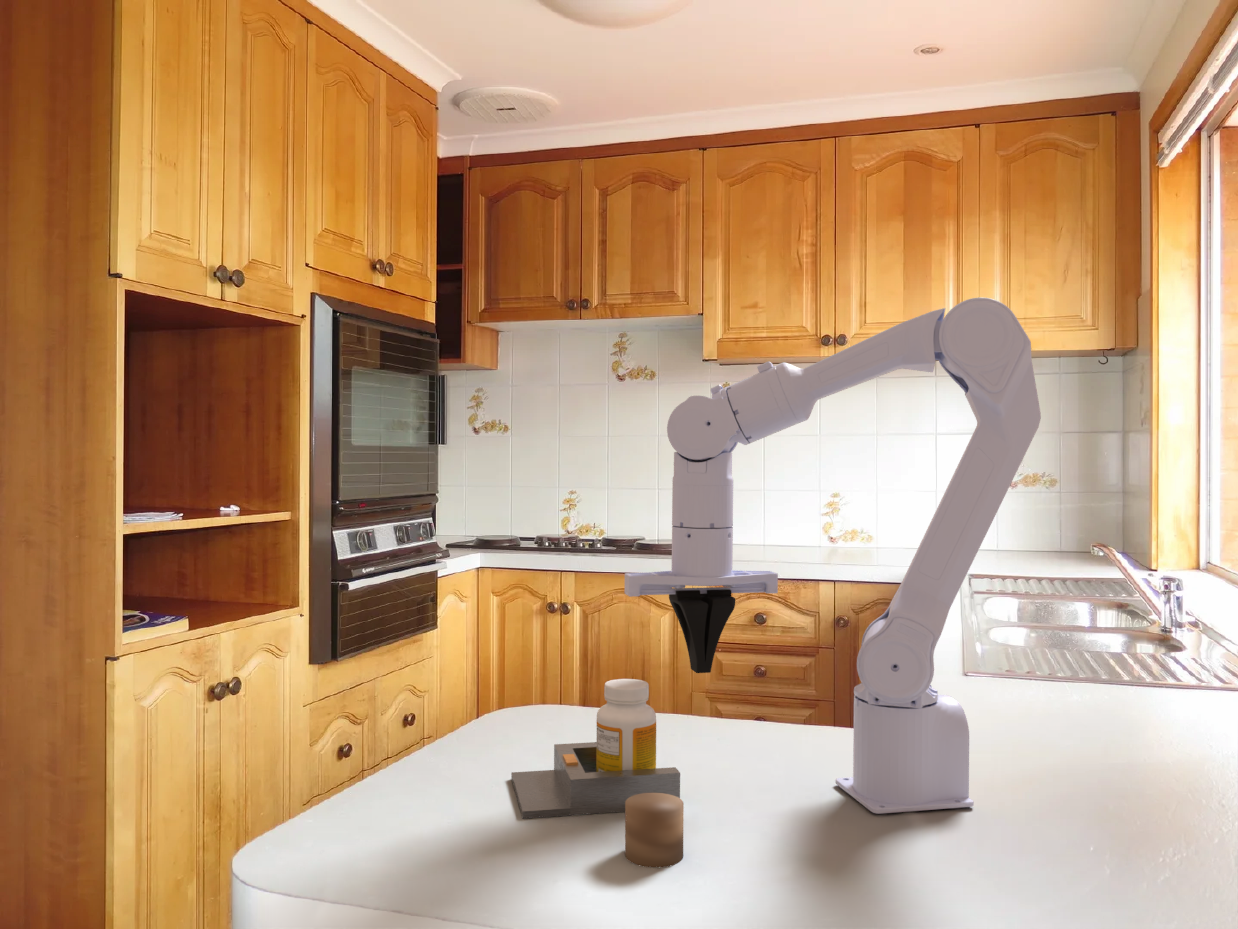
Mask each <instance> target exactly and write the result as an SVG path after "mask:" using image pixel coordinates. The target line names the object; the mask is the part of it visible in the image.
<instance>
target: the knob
mask: <svg viewBox="0 0 1238 929" xmlns="http://www.w3.org/2000/svg"><path fill="white" fill-rule="evenodd" d="M684 805H685V804H684V801H683V800H682V799H681V797H680V798H678V797H676V796H673V795H670V794H664V793H642V794H637V795H634V796H631V797H629V798H628V799H627V800H626V802H625V812H624V813H625V814H624V815H625V816H624V817H625V819H624V820H625V822H624V823H625V824H624V827H625V828H624V849H625V850H624V856H625V858H626V860H627V861H628V862H630V863H631V864H633V865H637V866H639V865H640V867H643V866H644V867H645V868H653V869H654V868H655V869H656V868H657V869H658V868H659V867H660V868H667V866H668V867H671V866H670V865H672V866H675V865H676V864H679V863H681V861H683V859H684V812H685V811H684V808H685V807H684ZM660 868H659V869H660Z"/></svg>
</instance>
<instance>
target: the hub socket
mask: <svg viewBox="0 0 1238 929" xmlns="http://www.w3.org/2000/svg"><path fill="white" fill-rule="evenodd" d="M553 747H554V748H553V749H554V750H553V762H554V763H553V769H550V770H549V769H547V770H546V769H545V770H533V771H532V770H531V771H529V770H528V771H513V772H512V771H511V782H512V786H513V790H514V793H515V795H516V796H515V797H516V799H517V804H518V807H519V811H520V814H521V818H522V819H536V818H551V817H553V818H554V817H565V816H566V817H567V816H579V815H580V816H581V815H593V814H594V815H595V814H597V815H598V814H609V813H610V814H611V813H623V812H624V813H625V802H626V800H627V799H628V798H629V797H631V796H634V795H637V794H642V793H664V794H670V795H673V796H676V797H678V798H680V799H681V772H680V771H679V769H678V768H677V767H675V766H674V767H659V768H657V767H656V768H655V769H639V770H623V771H606V772H596V756H597V754H596V753H597V748H596V747H597V741H595V742H593V741H591V742H576V743H575V742H574V743H573V742H572V743H559V744H558V743H557V744H556V743H555V744H554V745H553Z"/></svg>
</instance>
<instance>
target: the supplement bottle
mask: <svg viewBox="0 0 1238 929" xmlns="http://www.w3.org/2000/svg"><path fill="white" fill-rule="evenodd" d="M649 687H650V686H649V683H648V682H647V681H645V680H642V679H634V678H618V679H611V680H607V681H606V682H605V683H604V694H603V696H604V700H605V701H606V703H605V704H604V705H602V706H601V707H599V709H598V710H597V712H596V742H597V747H596V748H597V753H596V754H597V756H596V772H606V771H623V770H639V769H655V768H657V715H656V712H655V710H654V708H653V707H652V706H650V705H649V704H647V701H648V700H649V695H650V690H649V689H650V688H649Z"/></svg>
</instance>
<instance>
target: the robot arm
mask: <svg viewBox="0 0 1238 929" xmlns="http://www.w3.org/2000/svg"><path fill="white" fill-rule="evenodd" d="M945 312H946V307H944V308H939V309H935V310H932V311H928V312H926V313H924V314H921V315H919V316H915V317H913V318H911V319H908V320H905V321H903V322H901V323H898V324H896V325H893V326H892V327H889V328H888V329H886V330H883V331H881V332H879V333H877V334H875V335H872V336H870V337H868V338H866V339H864V340H862V341H859V342H857V343H855V344H853V345H851V346H848V347H847V348H845V349H842V350H841V351H839V352H837V353H834V354H832V355H830V356H828V357H825V358H824V359H821V360H819V361H817V362H815V363H813V364H811V365H809V366H807V367H805V368H801V367H798V366H795V365H794V364H791V363H787V362H781V363H778V364H776V365H773V363H772V362H771V361H766V362H764V363H761V364H759V365H757V366H756V367H757V368H756V369H757V370H758V372H757V373H756V374H753V375H751V376H748V377H747V378H744V379H742V380H739V381H737V382H735V383H732V384H730V385H728V386H725V387H723V386H722V385H721V384H718V385H715V386H713V387H711V388H710V393H711V397H708V396H706V395H705V396H704V395H691V396H688V398H686V400H684V401H682V402H681V403H679V404H678V405H677V406H676V407H674V409H673V411H672V412H671V414H670V415H669V418H668V420H667V426H666V431H667V432H666V433H667V437H668V441H669V443H670V446H672V448H673V449H674V450H675V451H673V477H672V488H671V489H672V492H671V495H672V496H671V497H672V499H671V500H672V501H671V503H672V504H671V509H672V510H671V513H672V514H671V570H662V571H661V570H660V571H649V572H629V573H628V572H627V573H626V572H625V573H624V595H626V596H628V597H631V598H632V597H640V596H655V595H656V596H657V595H658V596H660V595H662V596H664V595H667V596H668V599H669V602H670V605H671V607H672V609H673V611H674V613H675V616H676V618H677V620H678V622H679V626H680V628H681V631H682V634H683V637H684V642H685V644H686V648H687V652H688V657H689V658H688V659H689V664H690V665H689V666H690V669H691V670H692V671H693V672H695V674H710V673H711V672H712V666H713V663H714V662H713V661H714V657H715V654H716V650H717V648H718V645H719V640H720V638H721V635H722V633H723V631H724V628H725V626H726V624H727V622H728V621H729V618H730V616H731V615H732V613H733V611H734V609H735V606H736V597H733V596H732V594H744V593H745V594H750V593H751V594H752V593H754V594H755V593H765V594H778V592H779V591H778V590H779V589H778V586H779V583H778V582H779V580H778V579H779V574H778V573H777V572H774V571H772V570H736V569H735V570H734V569H733V554H734V552H733V550H734V548H733V546H734V545H733V544H734V543H733V540H734V537H733V536H734V529H733V528H734V524H733V523H734V522H733V521H734V478H733V451H734V450H735V449H736V447H737V445H738V443H740V444H742V445H743V446H747V445H750V444H752V443H754V442H757V441H759V440H761V439H764V438H767V437H768V436H772V435H773V434H777V433H779V432H781V431H784V430H786V429H788V428H791V427H792V426H796V425H797V424H801V423H803V422H806V421H808V420H809V418H810V416H811V415H812V412H813V409H814V406H815V404H816V403H817V402H818V401H819V400H821V399H824V398H827V397H830V396H832V395H835V394H837V393H840V392H842V391H845V390H847V389H849V388H853V387H855V386H858V385H861V384H863V383H866V382H868V381H871V380H874V379H876V378H878V377H879V378H880V377H881V376H884V375H887V374H890V373H891V372H895V371H897V370H902V369H903V370H911V371H917V372H918V371H919V372H925V373H934V370H935V365H936V361H938V362H939V364H940V366H941V368H943V370H944V371H945V373H947V374H948V376H949V377H950V379H952V380H953V381H954V382H955V383H956V384H957V385H958V386H959V387H960V388H961V389H962V391H964V396H965V398H966V400H967V402H968V405H969V406H970V409H971V411H972V412H973V415H974V418H975V420H976V426H975V429H974V431H973V432H972V435H971V437H970V439H969V442H968V444H967V446H966V448H965V450H964V451H963V454H962V456H961V458H960V460H959V462H958V464H957V467H956V468H955V471H954V472H953V475H952V477H951V478H950V481H949V483H948V485H947V487H946V490H945V491H944V493H943V496H942V497H941V500H940V502H939V504H938V506H937V508H936V510H935V512H934V514H933V516H932V519H931V521H930V523H929V525H928V527H927V529H926V531H925V533H924V535H923V537H922V538H921V542H920V543H919V545H918V548H917V550H916V552H915V554H914V556H913V558H912V560H911V561H910V562H911V563H910V565H909V566H908V568H907V570H906V573H905V575H904V577H903V579H902V581H901V583H900V584H899V587H898V588H897V590H896V592H895V593H894V596H893V597H892V599H891V601H890V602H889V605H888V607H887V608H886V610H885V612H884V613H883V614H882V615H880V616H879V617H877V618H876V619H874V620H872V622H871V623H870V624H868V626H867V628H866V629H865V630H864V633H863V635H862V638H861V646H860V648H859V651H858V654H857V657H856V671H857V675H858V677H859V680H860V683H858V684H856V685H855V686H854V688H853V755H852V756H853V757H852V758H853V759H852V761H853V762H852V765H853V766H852V770H853V771H852V772H853V773H852V776H849V777H848V776H847V777H846V776H845V777H838V778H835V780H834V781H835V784H836V786H838V787H839V788H840V789H842V790H843V791H844V792H845V793H847V794H848V795H849V796H851V797H852V798H853V799H855V800H856V801H857V802H859V804H861V805H862V806H863V807H865V808H866V809H867V810H868V811H870V812H871V813H873V814H877V815H878V814H880V815H881V814H892V813H894V814H895V813H902V812H903V813H906V812H919V811H931V810H932V811H933V810H943V809H944V810H946V809H961V808H971V807H974V800H973V799H971V798H970V792H969V790H970V729H969V724H968V723H969V722H968V718H967V715H966V713H965V710H964V708H963V706H962V705H961V703H960V702H959V701H958V700H957V699H955V698H954V697H953V696H951V695H947V694H939V692H938V690H937V689H936V688H933V686H932V685H931V684H932V682H933V679H934V675H935V662H934V660H935V658H934V656H935V655H934V653H935V649H936V647H937V644H938V642H939V640H940V637H941V635H942V633H943V630H944V628H945V624H946V621H947V618H948V616H949V612H950V609H951V608H952V606H953V603H954V602H955V599H956V597H957V595H958V593H959V591H960V589H961V586H962V585H963V583H964V581H965V578H966V576H967V574H968V572H969V570H970V568H971V566H972V564H973V562H974V560H975V558H976V556H977V555H978V552H979V550H980V548H981V546H982V544H983V542H984V540H985V537H986V536H987V533H988V532H989V529H990V527H991V526H992V523H993V521H994V519H995V517H996V515H997V513H998V511H999V509H1000V507H1001V504H1002V503H1003V501H1004V498H1005V497H1006V495H1007V492H1008V490H1010V489H1009V488H1010V487H1011V484H1012V482H1013V480H1014V479H1015V477H1016V474H1017V472H1018V470H1019V468H1020V466H1021V463H1022V461H1023V460H1024V458H1025V456H1026V453H1027V452H1028V449H1029V448H1030V446H1031V443H1032V441H1033V439H1034V437H1035V435H1036V433H1037V431H1038V429H1039V427H1040V423H1041V418H1042V415H1041V407H1040V403H1039V402H1040V401H1039V395H1038V391H1037V384H1036V378H1035V371H1034V365H1033V358H1032V343H1031V340H1030V338H1029V336H1028V335H1027V333H1026V331H1025V329H1024V328H1023V326H1022V324H1021V323H1020V321H1019V320H1018V318H1017V316H1016V315H1015V314H1014V312H1013V310H1011V308H1010V307H1008V306H1007V305H1006V304H1004V303H1003V302H1001V301H999V300H997V299H993V298H991V297H972V298H968V299H965V300H963V301H961V302H959V303H957V304H956V305H954V306H953V307H952V308H950V310H949V311H948V312H947V313H946V315H945ZM686 586H689V587H686ZM690 586H691V587H690ZM693 586H695V587H693ZM696 586H697V587H696ZM717 586H718V587H717ZM720 586H721V587H720Z"/></svg>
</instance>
